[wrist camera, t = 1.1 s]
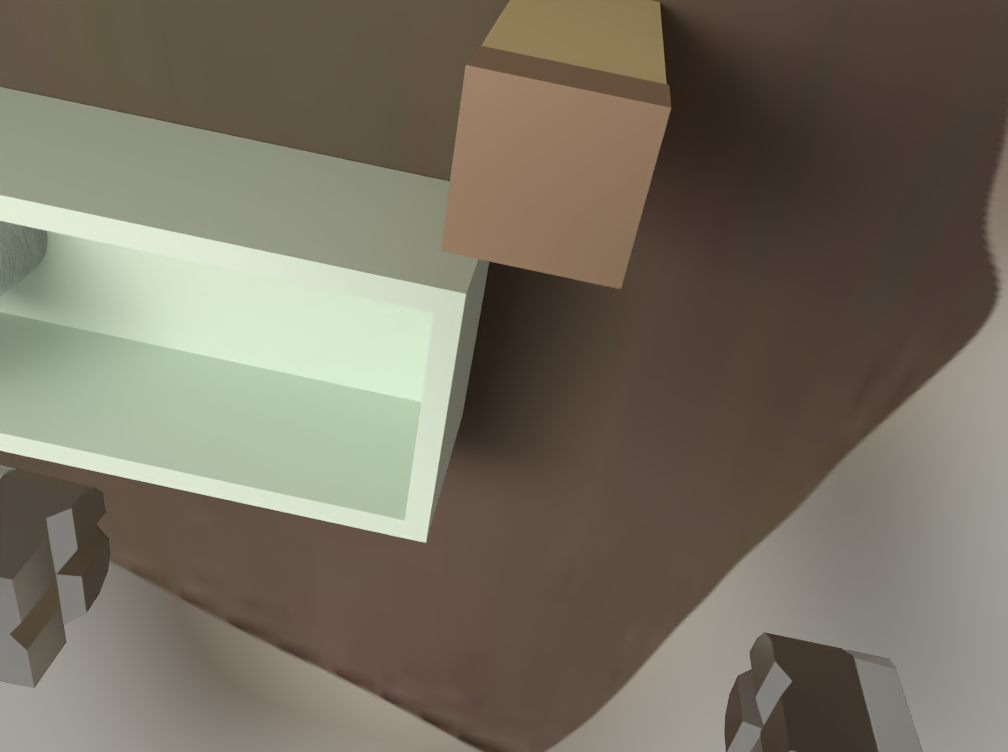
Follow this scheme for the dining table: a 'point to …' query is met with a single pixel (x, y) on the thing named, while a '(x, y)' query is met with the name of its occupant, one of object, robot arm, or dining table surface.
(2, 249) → the tin can
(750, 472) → the dining table surface
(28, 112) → the tote
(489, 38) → the oat carton
